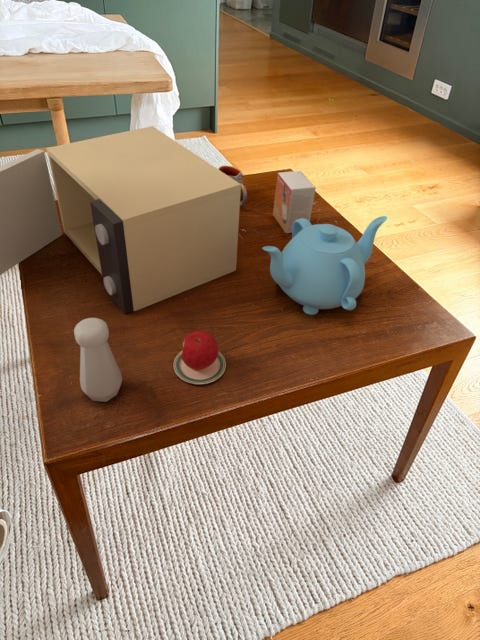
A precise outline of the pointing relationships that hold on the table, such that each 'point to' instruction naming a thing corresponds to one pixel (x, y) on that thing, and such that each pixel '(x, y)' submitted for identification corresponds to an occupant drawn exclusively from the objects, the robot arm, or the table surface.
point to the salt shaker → (97, 361)
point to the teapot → (323, 265)
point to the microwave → (146, 214)
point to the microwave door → (26, 209)
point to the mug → (237, 176)
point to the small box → (292, 199)
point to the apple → (199, 359)
